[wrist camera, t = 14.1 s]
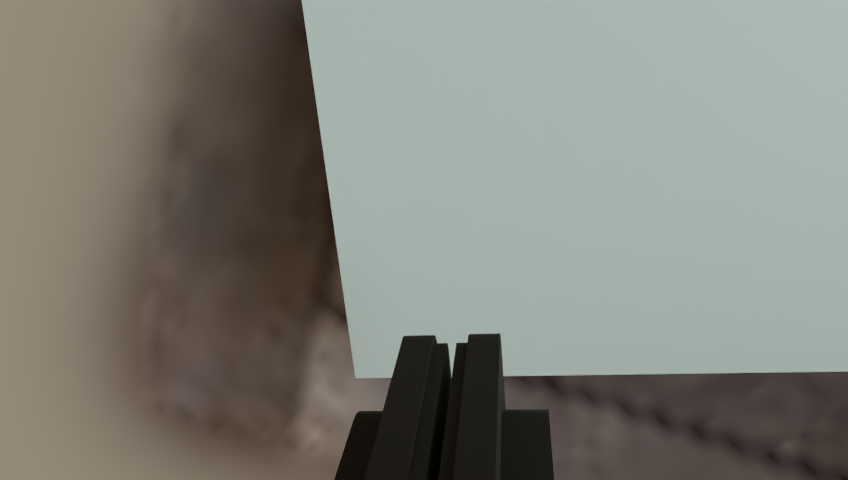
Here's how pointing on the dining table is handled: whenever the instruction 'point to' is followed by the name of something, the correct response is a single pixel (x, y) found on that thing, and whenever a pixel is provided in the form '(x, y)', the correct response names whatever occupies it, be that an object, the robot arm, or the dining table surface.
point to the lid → (590, 180)
